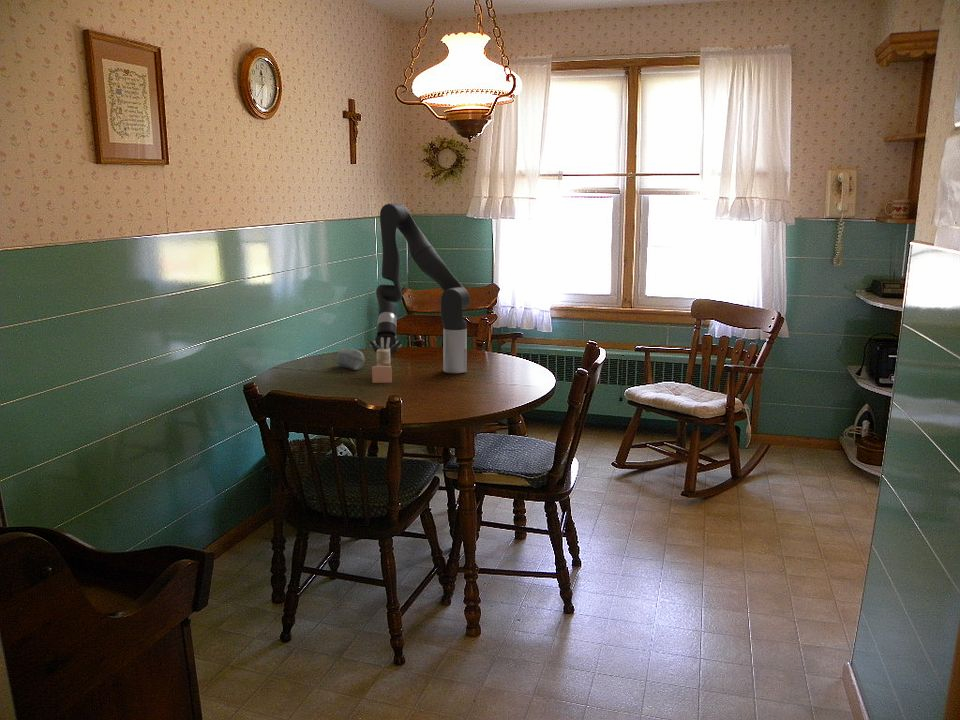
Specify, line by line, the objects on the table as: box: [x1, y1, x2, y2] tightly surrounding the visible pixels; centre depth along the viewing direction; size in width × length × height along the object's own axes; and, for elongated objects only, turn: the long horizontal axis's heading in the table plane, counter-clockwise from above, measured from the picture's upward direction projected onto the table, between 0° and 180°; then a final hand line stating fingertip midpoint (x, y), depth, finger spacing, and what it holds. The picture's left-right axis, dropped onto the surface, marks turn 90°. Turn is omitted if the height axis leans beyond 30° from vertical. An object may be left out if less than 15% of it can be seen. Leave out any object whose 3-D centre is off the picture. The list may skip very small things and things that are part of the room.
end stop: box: [371, 365, 393, 384], centre depth 286 cm, size 7×2×6 cm, turn 91°
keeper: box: [375, 348, 391, 366], centre depth 292 cm, size 5×4×10 cm
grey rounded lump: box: [335, 347, 365, 371], centre depth 309 cm, size 14×10×10 cm
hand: (384, 363), depth 295 cm, fingers closed
